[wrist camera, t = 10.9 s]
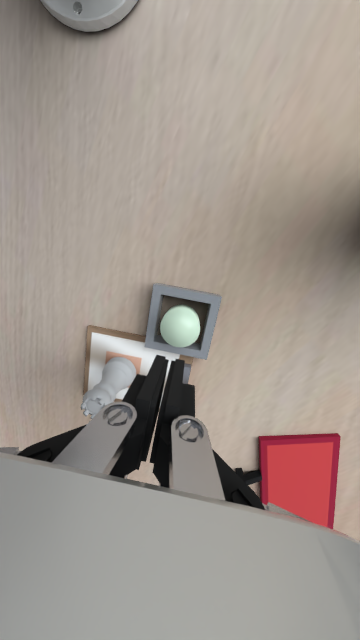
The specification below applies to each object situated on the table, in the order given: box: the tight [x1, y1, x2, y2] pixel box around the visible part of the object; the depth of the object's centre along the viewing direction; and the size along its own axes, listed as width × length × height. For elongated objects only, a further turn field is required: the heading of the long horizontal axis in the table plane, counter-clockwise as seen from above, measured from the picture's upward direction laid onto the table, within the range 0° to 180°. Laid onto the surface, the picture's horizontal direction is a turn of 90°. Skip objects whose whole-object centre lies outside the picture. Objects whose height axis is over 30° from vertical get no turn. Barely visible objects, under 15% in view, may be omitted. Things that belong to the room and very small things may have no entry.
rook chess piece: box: [81, 357, 136, 419], centre depth 23 cm, size 4×4×8 cm
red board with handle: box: [236, 433, 340, 529], centre depth 31 cm, size 30×3×15 cm
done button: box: [160, 304, 200, 347], centre depth 22 cm, size 4×4×3 cm
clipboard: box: [83, 325, 193, 410], centre depth 27 cm, size 11×15×2 cm
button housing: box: [144, 283, 222, 360], centre depth 24 cm, size 8×8×2 cm
